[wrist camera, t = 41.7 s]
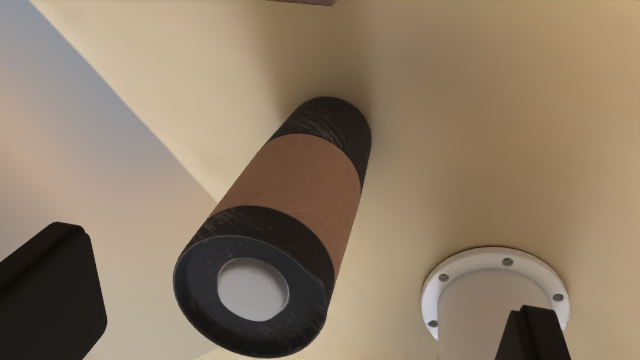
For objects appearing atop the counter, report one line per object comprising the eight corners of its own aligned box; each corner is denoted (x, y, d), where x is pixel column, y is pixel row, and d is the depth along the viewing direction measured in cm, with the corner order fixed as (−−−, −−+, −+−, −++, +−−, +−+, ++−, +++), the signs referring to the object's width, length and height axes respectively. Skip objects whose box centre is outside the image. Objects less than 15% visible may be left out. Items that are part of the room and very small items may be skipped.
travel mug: (267, 140, 41) (143, 297, 23) (319, 72, 37) (219, 199, 20) (336, 195, 42) (267, 384, 24) (394, 134, 38) (361, 305, 21)
